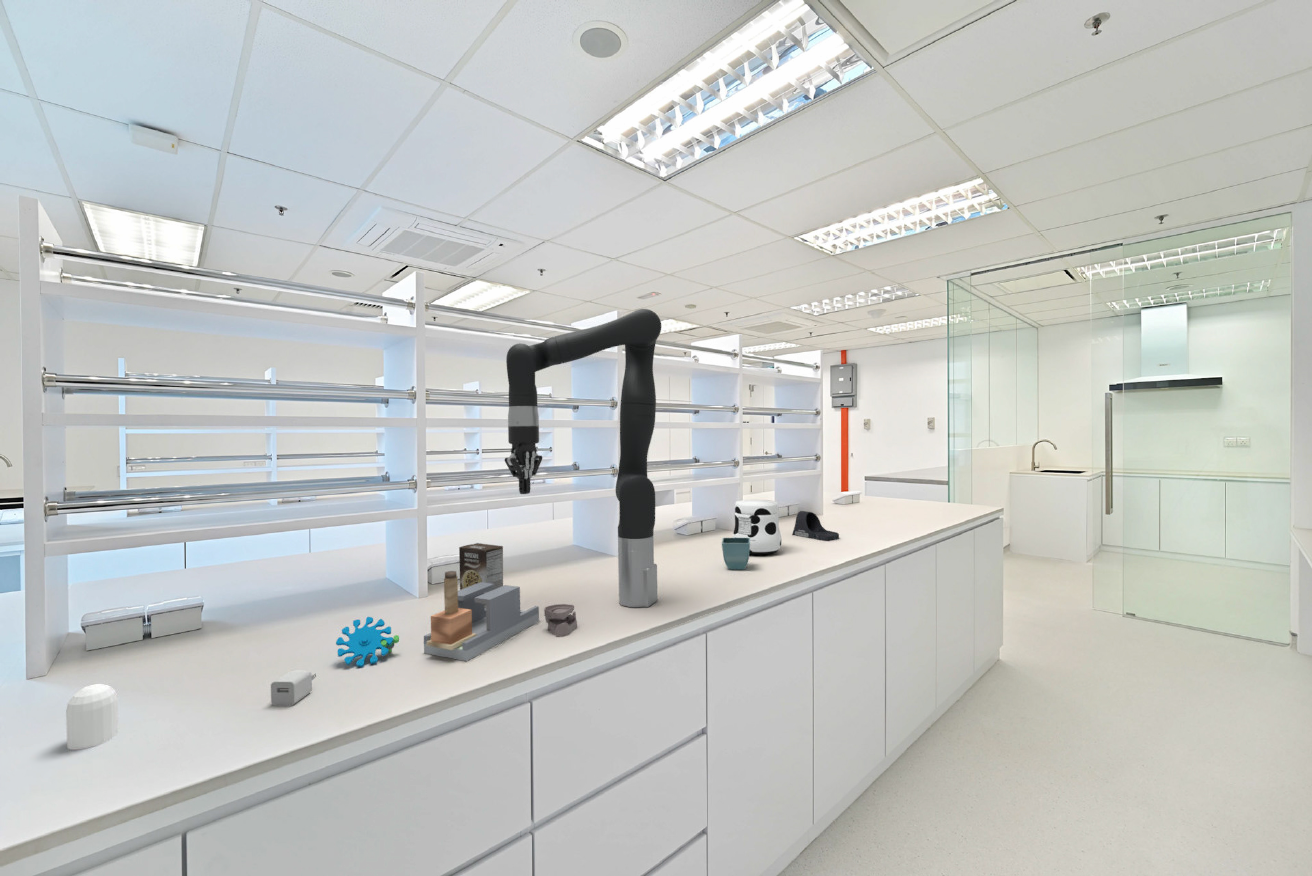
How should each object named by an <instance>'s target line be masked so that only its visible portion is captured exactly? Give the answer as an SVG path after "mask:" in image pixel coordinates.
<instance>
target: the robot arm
mask: <svg viewBox="0 0 1312 876" xmlns="http://www.w3.org/2000/svg"><path fill="white" fill-rule="evenodd" d="M661 332H662V321H661V319H660V317H659V315H658V314H657V313H656V311H655V312H654V311H653V310H652V309H648V308H638V309H636V310H634V311H632V312H630V313H628V314H626V315H623V316H621V317H619V318H616V319H613V320H611V321H607V322H606V323H602V324H599V325H595V326H592V327H588V328H584V329H578V330H575V331H572V332H571V331H570V332H567V333H563V334H560V335H559V334H558V335H556V336H552V337H548V338H546V339H545V340H544V341H542V342H538V343H535V344H532V345H528V344H526V343H520V342H519V343H516V344H513V345H512V346H510V348H509V349H508V350H507V354H506V361H505V362H506V373H507V381H508V413H507V430H508V431H507V432H508V433H507V434H508V436H507V437H508V439H507V440H508V444H511V449H510V455H509V457H505V458H504V462H505V465H507V468H508V470H509V472H510V473H511V475H512V477H514V478H516V479H518V492H519V494H520V495H528V494H530V493H531V479H532V477H533V476H536V475H537V472H538V470H539V467H540V466H541V464H542V461H543V456H542V455H539V454H538V453H537V452H538V450H537V447H536V444H538V443H539V442H540V420H539V419H540V417H539V410H538V389H537V386H536V372H539V371H542V370H544V369H547V368H550V367H552V366H557V365H561V364H567V363H570V362H573V361H577V360H578V361H579V360H580V359H583V358H587V357H589V356H592V355H593V354H597V353H599V352H603V351H604V350H607V349H611V348H615V347H619V346H624V350H625V352H624V353H625V366H624V374H623V379H622V384H621V385H622V387H621V396H620V406H619V407H620V408H619V410H620V411H619V445H620V446H619V449H620V452H619V453H620V455H619V456H620V457H619V463H618V464H619V465H618V471H617V476H616V483H615V495H616V498H617V500H618V502H619V520H618V526H617V553H618V555H617V561H618V565H617V566H618V567H617V568H618V569H617V570H618V571H617V572H618V603H619V604H620V605H621V606H623V607H626V608H627V607H629V608H644V607H645V608H649V607H650V606H652V605H654V603H655V602H658V564H657V563H655V556H654V555H655V551H654V540H655V539H654V535H655V534H654V529H655V524H656V491H655V490H656V489H655V486H654V483H653V482H652V480H651V479H650V478H648V456H649V455H648V454H649V449H650V446H651V442H652V438H653V434H654V429H655V424H656V413H657V411H656V409H657V408H656V407H657V395H656V393H657V392H656V385H655V378H654V367H653V366H654V359H655V358H654V356H655V348H656V343H657V340H658V338H659V336H660V334H661Z"/></svg>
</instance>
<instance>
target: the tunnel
mask: <svg viewBox="0 0 1312 876" xmlns="http://www.w3.org/2000/svg"><path fill="white" fill-rule="evenodd" d="M520 587H521V586H516V585H507V584H505V585H504V584H503V586H502V587H499V588H497V589H494V588H495V584H491V583H483V582H480V583H477V584H475V585H472V586H469V587H467V588H464V589H461V590H460V589H458V608H463V609H470V610H472V633H476V634H477V636H475V637H473V638H471V639H469V640H467V641H465V642H463V643H462V645H461V646H459V647H457V648H455V649H453V650H448V649H443V648H437V647H432V646H427V641H429V640H431V632H430V633H427V634H424V635H423V653H424V654H427V655H431V656H432V655H433V656H437V657H444V658H449V659H454V660H459V661H462V662H463V661H465V662H468V661H470V660H472V659H474V658H475V657H477V656H479V655H480V654H482V653H484V652H486V651H489V650H490V649H491V648H493V647H495V646H497V645H499V644H500V643H502V642H505V641H506V640H508V639H509V638H510V639H511V637H513V636H515V635H517V634H519V633H521V632H522V631H524V630H526V629H528V628H531V627H532V626H533V625H535V624H537V623H539V622H540V606H538V605H534V606H533V607H530V608H529V609H527V610H521V588H520ZM492 589H494V590H492ZM489 590H492V591H490V592H487V591H489ZM484 592H487V593H485V594H484ZM484 604H486V608H485V606H484Z"/></svg>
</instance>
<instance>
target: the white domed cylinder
mask: <svg viewBox="0 0 1312 876" xmlns="http://www.w3.org/2000/svg"><path fill="white" fill-rule="evenodd" d="M118 701H119V700H118V694H117V691H116V690H115V689H114V688H113V687H112V686H110V685H107V684H103V683H96V684H90V685H87V686H85V687H82V688H81V689H80V690H78V691H76V692H75V693H74V694H73V695H72V697H71V698H70V699H69V700H68V702H67V704H66V709H65V716H66V719H65V721H66V723H65V724H66V748H67V749H68V750H71V751H72V750H73V751H76V750H86V749H88V748H93V747H97V746H98V745H102V744H104V743H107V742H109V741H110V740H113V739H114V738H115V737H117V736H118V734H119V729H120V728H119V727H120V726H119V702H118Z"/></svg>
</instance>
